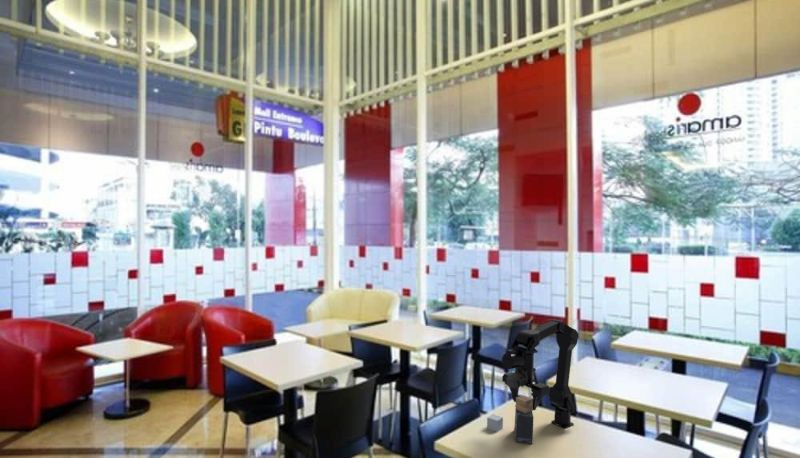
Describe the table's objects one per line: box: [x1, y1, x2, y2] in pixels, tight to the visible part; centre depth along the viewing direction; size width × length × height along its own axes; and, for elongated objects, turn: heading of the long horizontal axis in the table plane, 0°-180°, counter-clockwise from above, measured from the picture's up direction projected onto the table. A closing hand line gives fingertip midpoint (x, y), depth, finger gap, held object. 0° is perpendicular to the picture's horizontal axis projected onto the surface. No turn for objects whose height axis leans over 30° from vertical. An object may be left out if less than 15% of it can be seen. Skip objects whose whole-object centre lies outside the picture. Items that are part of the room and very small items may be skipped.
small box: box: [513, 404, 534, 445], centre depth 170 cm, size 11×6×10 cm, turn 168°
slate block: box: [486, 413, 504, 433], centre depth 176 cm, size 4×4×4 cm
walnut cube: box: [515, 395, 534, 413], centre depth 170 cm, size 4×4×4 cm
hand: (524, 405), depth 170 cm, fingers open, 9 cm apart
